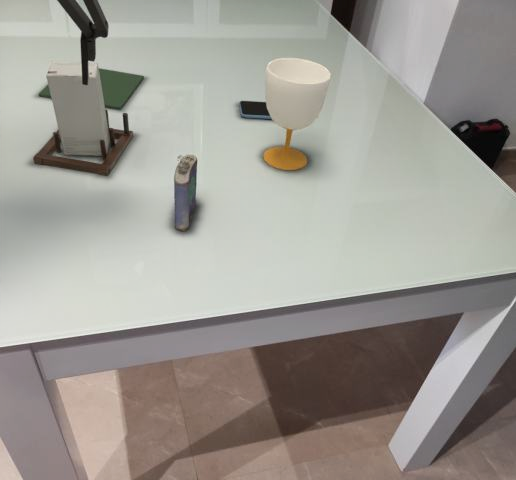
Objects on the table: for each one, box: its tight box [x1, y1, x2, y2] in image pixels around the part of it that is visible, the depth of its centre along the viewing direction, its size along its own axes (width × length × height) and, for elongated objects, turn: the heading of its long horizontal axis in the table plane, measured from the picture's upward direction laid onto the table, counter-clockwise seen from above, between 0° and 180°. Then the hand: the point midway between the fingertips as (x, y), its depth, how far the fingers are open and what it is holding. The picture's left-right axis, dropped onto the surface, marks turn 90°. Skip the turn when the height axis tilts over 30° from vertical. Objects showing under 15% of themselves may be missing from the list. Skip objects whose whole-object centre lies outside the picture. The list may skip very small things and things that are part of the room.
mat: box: [38, 67, 145, 111], centre depth 116 cm, size 18×18×1 cm
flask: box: [173, 154, 198, 232], centre depth 84 cm, size 9×3×11 cm, turn 174°
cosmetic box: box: [45, 60, 110, 157], centre depth 93 cm, size 8×6×15 cm
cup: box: [262, 57, 332, 171], centre depth 98 cm, size 12×12×17 cm
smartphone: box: [238, 100, 272, 120], centre depth 117 cm, size 7×1×15 cm
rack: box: [32, 108, 134, 177], centre depth 97 cm, size 16×14×5 cm
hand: (37, 72), depth 75 cm, fingers open, 13 cm apart
